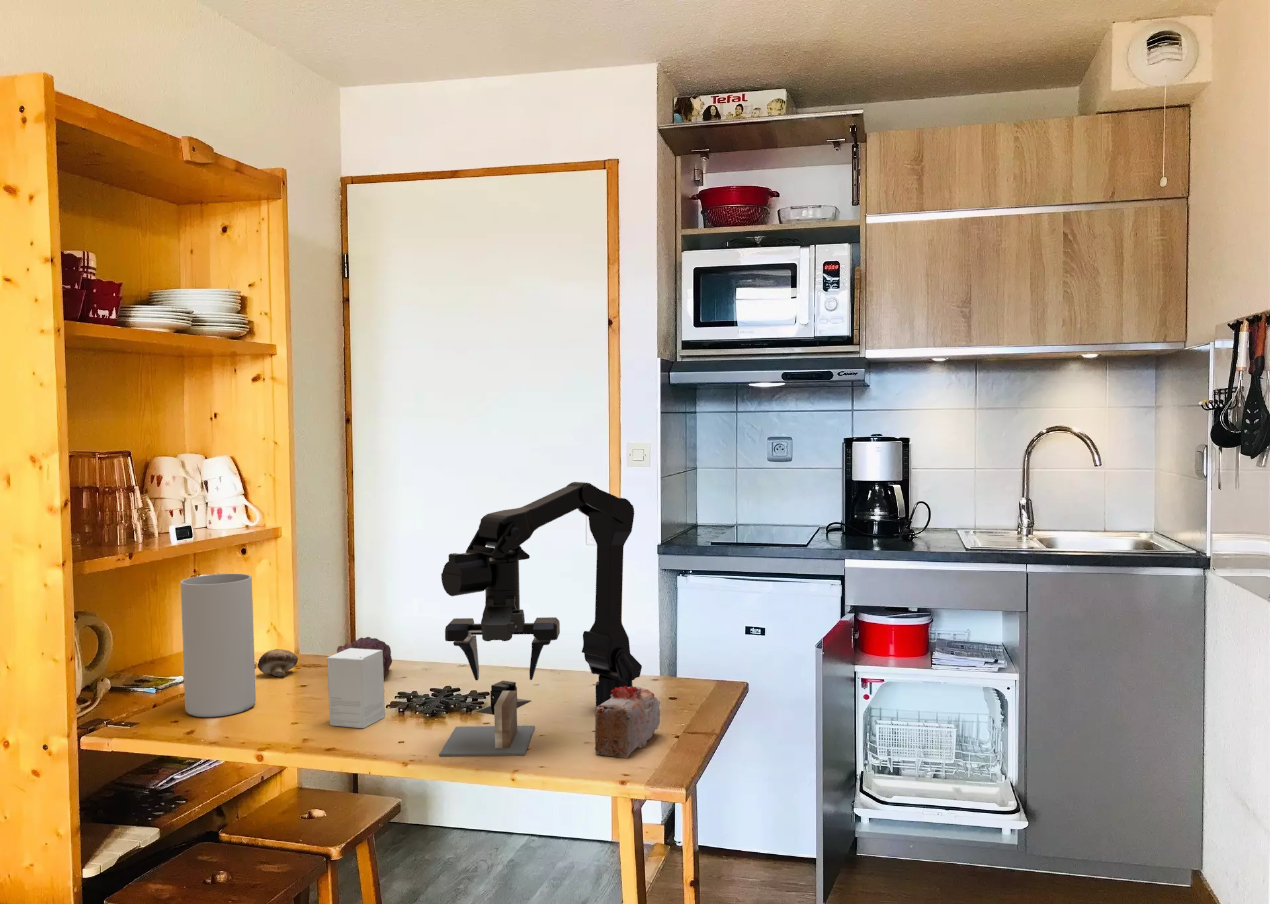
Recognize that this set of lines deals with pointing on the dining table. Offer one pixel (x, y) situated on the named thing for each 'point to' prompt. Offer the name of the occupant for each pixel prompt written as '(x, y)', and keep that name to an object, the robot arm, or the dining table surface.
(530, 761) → the dining table surface
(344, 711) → the supplement box
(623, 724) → the food item
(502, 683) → the black angular block
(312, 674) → the dining table surface
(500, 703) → the tile
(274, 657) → the mushroom
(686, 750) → the dining table surface
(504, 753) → the mat
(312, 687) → the dining table surface
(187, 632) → the cylinder vase
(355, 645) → the pine cone
